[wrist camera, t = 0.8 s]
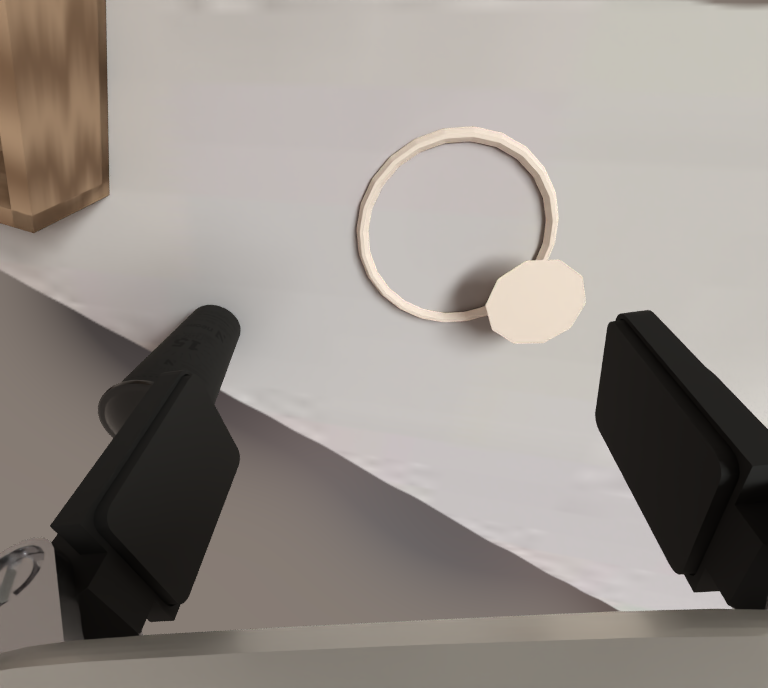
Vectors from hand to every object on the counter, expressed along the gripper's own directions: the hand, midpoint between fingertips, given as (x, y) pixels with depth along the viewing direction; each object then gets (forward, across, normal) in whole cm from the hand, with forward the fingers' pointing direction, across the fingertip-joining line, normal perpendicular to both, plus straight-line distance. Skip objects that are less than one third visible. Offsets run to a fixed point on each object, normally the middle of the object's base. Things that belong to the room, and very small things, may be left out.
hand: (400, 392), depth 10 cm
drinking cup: (+28, +20, +13) cm, 37 cm away
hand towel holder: (+29, -5, +9) cm, 30 cm away
